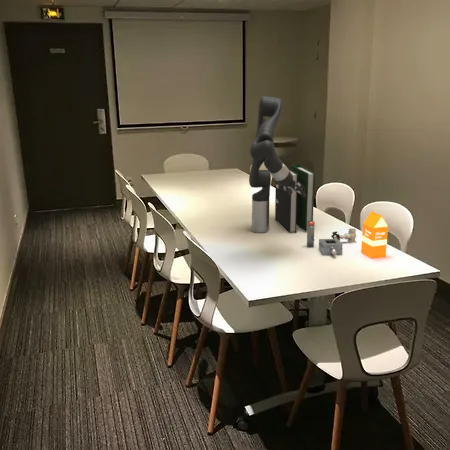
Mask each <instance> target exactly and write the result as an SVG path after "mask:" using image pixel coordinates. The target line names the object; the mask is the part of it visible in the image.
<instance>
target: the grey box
mask: <svg viewBox="0 0 450 450" xmlns="http://www.w3.org/2000/svg"><path fill="white" fill-rule="evenodd" d="M318 250H319V252H320V253H321V254H322V256H342V255H343V244H342V242H341V240H340V241H339V240H338V239H333V238H319V240H318Z"/></svg>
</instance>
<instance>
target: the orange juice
mask: <svg viewBox="0 0 450 450" xmlns="http://www.w3.org/2000/svg"><path fill="white" fill-rule="evenodd" d="M388 230H389V226H388V224H387V222H386V220H385V218H384V217H383V215H381V214H378V213H376V212H374V211H373V210H371V211H370V213H369V214H368V216H367V217H366V218H365V220H364V221H363V223H362V230H361V231H362V234H361V249H360V253H361V254H363V255H365V256H366V257H368V258H369V259H379V258H380V259H381V258H386V255H387V244H388V232H389V231H388Z"/></svg>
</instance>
